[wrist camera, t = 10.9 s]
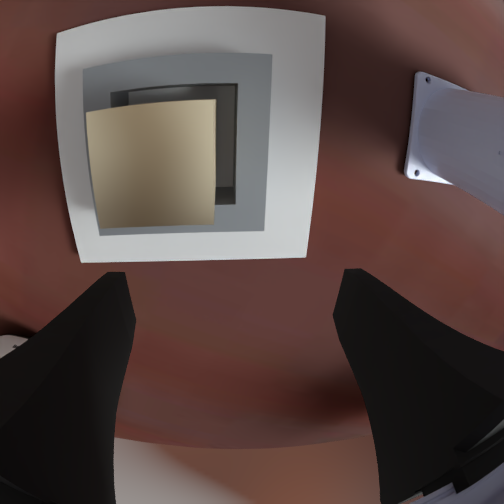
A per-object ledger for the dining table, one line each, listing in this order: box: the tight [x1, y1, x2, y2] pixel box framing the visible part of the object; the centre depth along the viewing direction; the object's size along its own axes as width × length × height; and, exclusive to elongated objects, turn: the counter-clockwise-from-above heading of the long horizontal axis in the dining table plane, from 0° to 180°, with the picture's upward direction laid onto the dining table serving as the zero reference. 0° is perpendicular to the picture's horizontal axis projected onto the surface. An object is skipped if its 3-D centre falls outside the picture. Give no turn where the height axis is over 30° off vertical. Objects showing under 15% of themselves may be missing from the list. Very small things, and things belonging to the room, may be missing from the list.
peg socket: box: [55, 6, 326, 263], centre depth 15 cm, size 16×16×4 cm
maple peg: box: [86, 99, 217, 229], centre depth 12 cm, size 4×4×8 cm
